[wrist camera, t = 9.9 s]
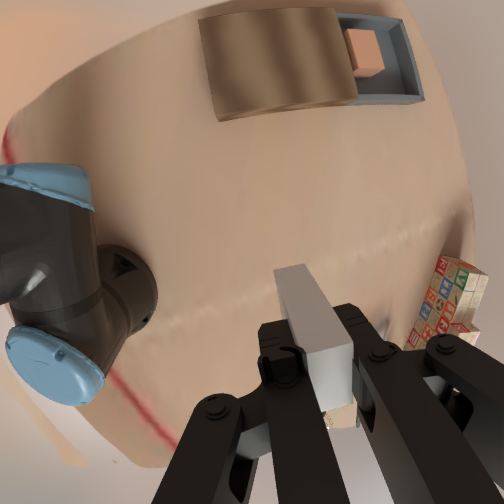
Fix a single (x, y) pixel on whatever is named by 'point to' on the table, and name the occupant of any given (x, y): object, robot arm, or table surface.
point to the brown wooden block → (276, 61)
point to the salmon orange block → (363, 53)
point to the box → (387, 62)
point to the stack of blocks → (449, 303)
